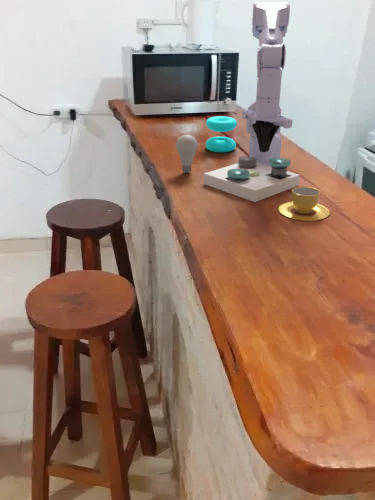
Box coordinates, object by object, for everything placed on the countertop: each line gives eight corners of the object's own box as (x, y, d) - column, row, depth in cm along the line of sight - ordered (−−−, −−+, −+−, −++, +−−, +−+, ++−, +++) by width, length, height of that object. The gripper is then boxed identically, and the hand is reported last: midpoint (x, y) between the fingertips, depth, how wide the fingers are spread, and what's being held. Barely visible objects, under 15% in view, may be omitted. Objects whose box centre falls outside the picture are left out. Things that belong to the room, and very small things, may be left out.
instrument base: (247, 170, 149) (248, 153, 146) (298, 185, 137) (300, 167, 135) (203, 184, 138) (204, 166, 135) (254, 202, 126) (256, 182, 124)
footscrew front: (236, 184, 137) (237, 167, 135) (252, 189, 134) (253, 172, 132) (222, 189, 134) (222, 171, 132) (238, 194, 130) (239, 176, 128)
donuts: (202, 116, 167) (231, 114, 169) (201, 146, 172) (230, 144, 174) (211, 123, 158) (241, 121, 161) (210, 154, 163) (239, 152, 165)
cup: (325, 225, 114) (329, 203, 112) (273, 218, 118) (274, 196, 115) (332, 206, 124) (335, 185, 122) (283, 200, 128) (285, 179, 125)
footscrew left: (276, 173, 139) (278, 156, 137) (293, 178, 135) (295, 160, 133) (263, 178, 136) (264, 160, 133) (280, 183, 132) (281, 165, 130)
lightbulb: (195, 177, 143) (195, 138, 138) (173, 175, 144) (173, 137, 139) (199, 170, 148) (199, 132, 143) (178, 169, 149) (178, 131, 144)
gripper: (235, 94, 127) (232, 148, 133) (281, 103, 118) (276, 160, 124) (253, 91, 131) (250, 143, 138) (299, 99, 122) (294, 155, 128)
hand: (264, 151), depth 131 cm, fingers closed
